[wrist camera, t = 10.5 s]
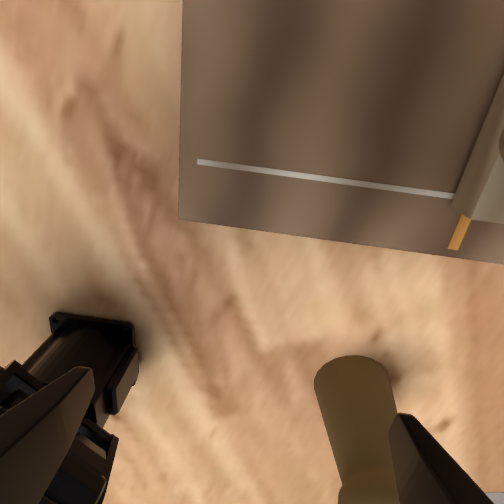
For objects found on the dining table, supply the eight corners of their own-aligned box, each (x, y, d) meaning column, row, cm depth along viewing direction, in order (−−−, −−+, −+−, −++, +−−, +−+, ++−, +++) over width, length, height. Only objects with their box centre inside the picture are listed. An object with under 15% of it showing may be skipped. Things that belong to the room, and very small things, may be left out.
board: (186, 208, 21) (177, 219, 19) (196, -82, 15) (184, -108, 13) (496, 251, 21) (518, 266, 19) (634, -27, 15) (687, -45, 13)
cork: (353, 342, 24) (405, 508, 15) (405, 383, 26) (486, 560, 16) (298, 384, 27) (310, 552, 17) (349, 419, 28) (388, 594, 18)
